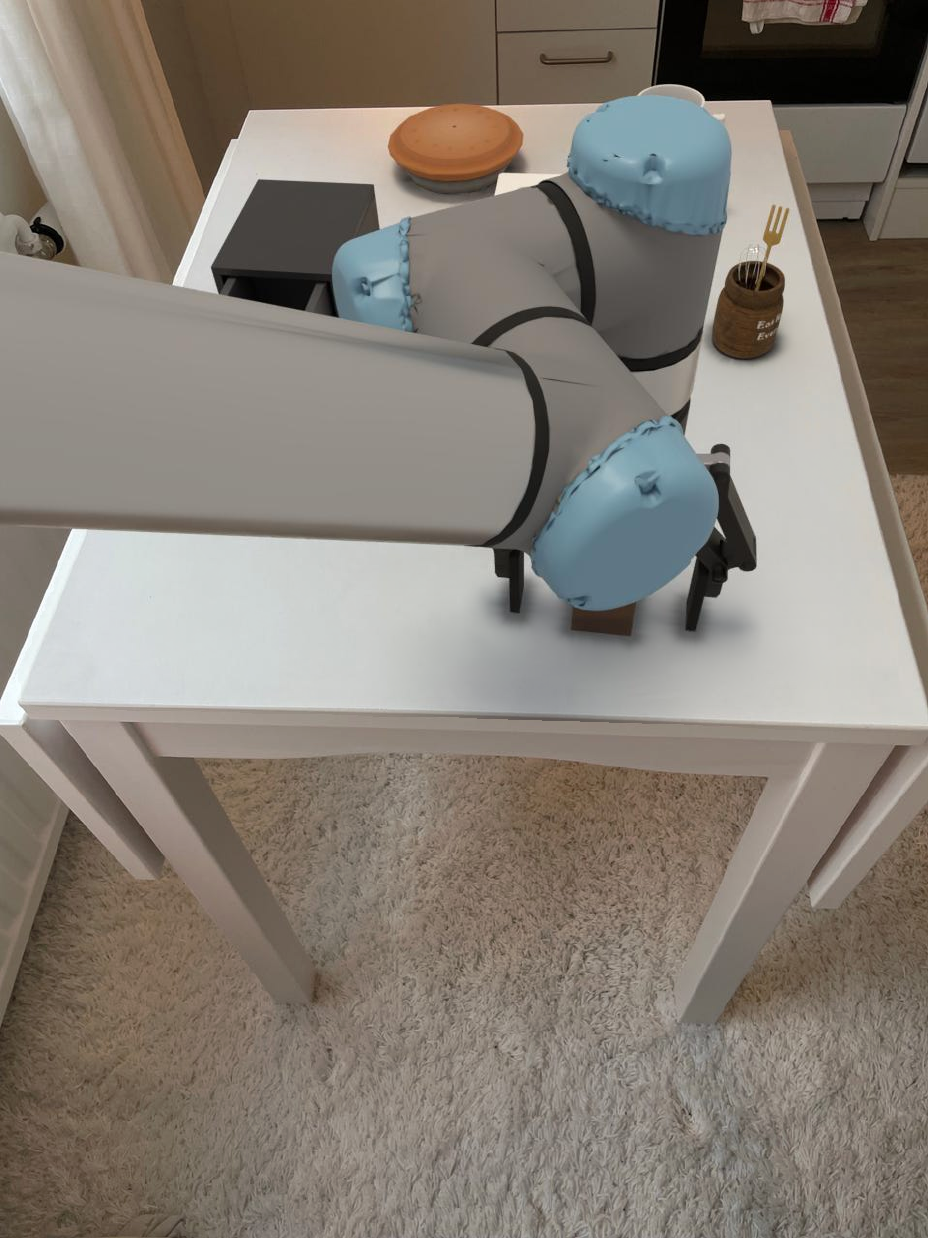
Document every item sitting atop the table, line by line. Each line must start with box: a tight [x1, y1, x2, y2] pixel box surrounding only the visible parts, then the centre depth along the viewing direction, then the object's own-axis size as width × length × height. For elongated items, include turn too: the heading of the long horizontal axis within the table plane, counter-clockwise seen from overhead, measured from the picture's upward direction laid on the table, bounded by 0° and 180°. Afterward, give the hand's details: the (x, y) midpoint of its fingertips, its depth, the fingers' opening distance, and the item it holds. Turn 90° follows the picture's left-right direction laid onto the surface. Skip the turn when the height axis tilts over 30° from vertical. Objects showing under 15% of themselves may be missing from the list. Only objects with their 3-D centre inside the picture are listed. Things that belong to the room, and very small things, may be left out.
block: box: [570, 601, 637, 637], centre depth 71 cm, size 4×4×4 cm
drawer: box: [220, 276, 337, 318], centre depth 85 cm, size 18×10×9 cm, turn 170°
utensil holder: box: [711, 204, 790, 359], centre depth 86 cm, size 6×6×12 cm
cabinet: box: [210, 178, 381, 318], centre depth 92 cm, size 15×12×11 cm
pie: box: [387, 103, 524, 195], centre depth 110 cm, size 16×16×5 cm
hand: (603, 607), depth 73 cm, fingers open, 12 cm apart
